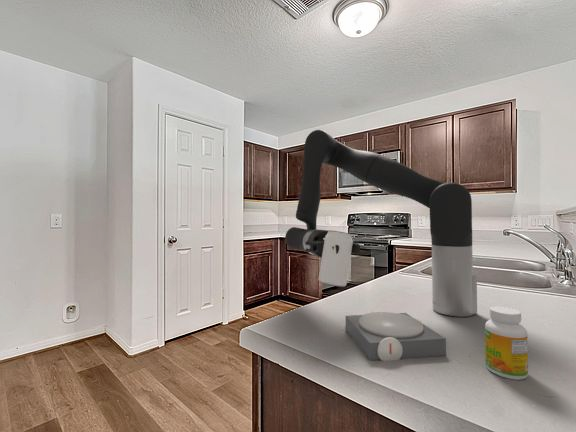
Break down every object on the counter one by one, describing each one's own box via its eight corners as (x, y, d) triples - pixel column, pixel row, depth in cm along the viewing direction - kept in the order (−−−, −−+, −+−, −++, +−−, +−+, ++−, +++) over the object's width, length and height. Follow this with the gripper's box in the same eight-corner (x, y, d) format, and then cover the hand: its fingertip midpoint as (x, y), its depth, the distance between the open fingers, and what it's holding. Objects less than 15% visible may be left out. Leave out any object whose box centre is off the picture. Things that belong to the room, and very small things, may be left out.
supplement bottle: (477, 363, 48) (476, 305, 48) (507, 361, 49) (506, 304, 49) (504, 381, 43) (503, 316, 43) (537, 379, 43) (536, 314, 43)
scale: (405, 328, 65) (405, 309, 65) (448, 360, 50) (447, 335, 50) (345, 332, 63) (345, 312, 64) (371, 365, 49) (371, 339, 49)
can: (342, 287, 62) (350, 232, 63) (314, 281, 64) (322, 228, 65) (349, 286, 67) (356, 235, 68) (322, 280, 70) (330, 232, 71)
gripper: (294, 230, 79) (317, 233, 62) (342, 228, 82) (376, 231, 66) (295, 257, 79) (318, 268, 62) (342, 255, 82) (376, 264, 66)
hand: (347, 249), depth 64 cm, fingers closed on can, 4 cm apart
